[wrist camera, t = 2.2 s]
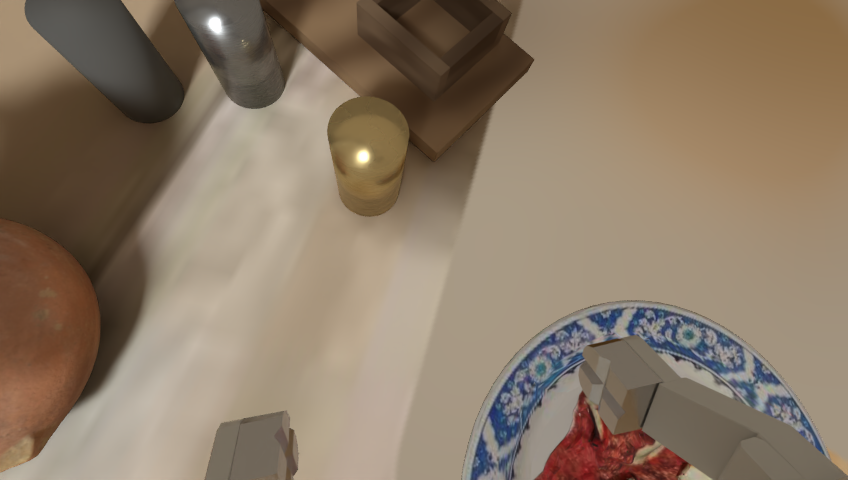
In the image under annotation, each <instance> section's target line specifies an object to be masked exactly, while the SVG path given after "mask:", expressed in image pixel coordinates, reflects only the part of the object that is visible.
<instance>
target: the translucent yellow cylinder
mask: <svg viewBox="0 0 848 480" xmlns="http://www.w3.org/2000/svg"><path fill="white" fill-rule="evenodd" d="M327 133H328V140H329V145H330V150H331V155H332V160H333V165H334V170H335V175H336V180H337V185H338V190H339V195H340V198H341V200H342V202H343V203H344V205H345V206H346V207H347V208H348V209H349V210H351V211H352V212H354V213H356V214H358V215H361V216H369V217H370V216H377V215H381V214H383V213H385V212H386V211H388V210H389V209H390V208H391V207H392V206H393V205H394V204H395V202H396V200H397V198H398V194H399V189H400V184H401V178H402V173H403V168H404V163H405V157H406V152H407V147H408V142H409V127H408V124H407V121H406V119H405V117H404V116H403V114H402V113H401V112H400V110H399V109H398V108H396V107H395V106H394V105H393V104H391V103H389V102H388V101H385V100H383V99H380V98H376V97H357V98H354V99H351V100H348V101H346V102H345V103H343V104H342V105H340V106H339V107H338V108H337V109H336V110H335V111H334V113H333V114H332V116H331V118H330V120H329V124H328V130H327Z"/></svg>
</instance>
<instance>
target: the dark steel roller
mask: <svg viewBox="0 0 848 480" xmlns="http://www.w3.org/2000/svg"><path fill="white" fill-rule="evenodd" d="M174 1H175V4H176V6H177V8H178V10H179V12H180V13H181V15H182V17H183V19H184V20H185V22H186V24H187V26H188V27H189V29H190V31H191V33H192V34H193V36H194V38H195V40H196V41H197V43H198V45H199V47H200V48H201V50H202V52H203V54H204V55H205V57H206V59H207V61H208V62H209V64H210V66H211V68H212V69H213V71H214V73H215V75H216V76H217V78H218V80H219V82H220V83H221V85H222V87H223V89H224V90H225V92H226V94H227V95H228V97H229V98H230V99H231V100H232V101H233V102H234V103H236V104H237V105H239V106H242V107H245V108H251V109H257V108H263V107H266V106H269V105H271V104H273V103H274V102H275V101H277V100H278V99H279V97H280V96H281V95H282V93H283V91H284V87H285V80H284V76H283V73H282V70H281V67H280V63H279V60H278V57H277V54H276V51H275V48H274V45H273V42H272V38H271V35H270V32H269V29H268V26H267V23H266V20H265V17H264V13H263V10H262V7H261V4H260V1H259V0H174Z"/></svg>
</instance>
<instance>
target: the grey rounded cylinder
mask: <svg viewBox="0 0 848 480" xmlns="http://www.w3.org/2000/svg"><path fill="white" fill-rule="evenodd" d="M25 15H26V18H27V21H28V22H29V24H30V25H31V26H32V27H33V29H35V30H36V31H37V32H38V33H39V34H40V35H41V36H42V37H43V38H44V39H45V40H46V41H47V42H48V43H49V44H51V45H52V46H53V47H54V48H55V49H56V50H57V51H58V52H59V53H60V54H61V55H62V56H63V57H64V58H65V59H66V60H68V61H69V62H70V63H71V64H72V65H73V66H74V67H75V68H76V69H77V70H78V71H79V72H80V73H81V74H82V75H83V76H85V77H86V78H87V79H88V80H89V81H90V82H91V83H92V84H93V85H94V86H95V87H96V88H97V89H98V90H99V91H100V92H102V93H103V94H104V95H105V96H106V97H107V98H108V99H109V100H110V101H111V102H112V103H113V104H114V105H115V106H116V107H118V108H119V109H120V110H121V111H122V112H123V113H124V114H125V115H126V116H127V117H129V118H130V119H132V120H135V121H138V122H142V123H155V122H160V121H163V120H165V119H167V118H169V117H171V116H172V115H173V114H175V113H176V112H177V111H178V109H179V108H180V106H181V105H182V102H183V99H184V90H183V87H182V85H181V83H180V82H179V80H178V79H177V77H176V76H175V75H174V73H173V72H172V70H171V69H170V68H169V66H168V65H167V64H166V62H165V61H164V59H163V58H162V57H161V55H160V54H159V52H158V51H157V50H156V48H155V47H154V46H153V44H152V43H151V41H150V40H149V39H148V37H147V36H146V34H145V33H144V32H143V30H142V29H141V28H140V26H139V25H138V23H137V22H136V21H135V19H134V18H133V16H132V15H131V14H130V12H129V11H128V10H127V8H126V7H125V5H124V4H123V3H122V1H121V0H26V3H25Z"/></svg>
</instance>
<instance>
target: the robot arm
mask: <svg viewBox="0 0 848 480" xmlns="http://www.w3.org/2000/svg"><path fill="white" fill-rule="evenodd" d="M582 356H583V357H584V358H585V361H584V362H583V363H582V364H581V366H580V368H579V374H578V376H579V381H580V385H581V387H582V390H583V392H584V393H585V395H586V396H587V398H588V399H589V400H590V401H592V402H593V403H595V404H597V405H598V406H599V407H598V414H599V416H600V417H601V418H602V420H603V421H604V423H605V424H606V426H607V427H608V429H609V430H610V431H611V433H612V434H613V435H616V434H620V433H625V432H629V431H634V430H638V429H642V431H643V432H645V433H646V434H648V435H649V436H650V437H652V438H653V439H655V440H656V441H658V442H659V443H661V444H662V445H663V446H665V447H666V448H668V449H669V450H671V451H672V452H674V453H675V454H676V455H678V456H679V457H681V458H682V459H684V460H685V461H687V462H688V463H689V464H691V465H692V466H694V467H695V468H697V469H698V470H700V471H701V472H702V473H704V474H705V475H707V476H708V477H710V478H711V479H713V480H848V476H847V475H846V474H845V473H844V472H843V471H841V470H840V469H839V468H838V467H837V466H836V465H835V464H834V463H832V462H831V461H830V460H829V459H828V458H827V457H826V456H825V455H823V454H822V453H821V452H820V451H819V450H818V449H817V448H816V447H814V446H813V445H812V444H811V443H810V442H809V441H808V440H806V439H805V438H804V437H803V436H802V435H801V434H800V433H799V432H797V431H796V430H795V429H794V428H793V427H792V426H790V425H788V424H786V423H784V422H782V421H780V420H777V419H775V418H773V417H771V416H769V415H767V414H765V413H762V412H760V411H758V410H756V409H754V408H752V407H749V406H747V405H745V404H743V403H741V402H739V401H736V400H734V399H732V398H730V397H728V396H726V395H723V394H721V393H719V392H717V391H715V390H713V389H710V388H708V387H706V386H704V385H702V384H700V383H697V382H695V381H693V380H691V379H689V378H687V377H685V378H681V377H680V376H679V375H678V374H677V373H676V372H675V371H674V370H673V369H672V368H671V367H670V366H669V365H668V364H667V363H666V362H665V361H664V360H663V359H662V358H661V357H660V356H659V355H658V354H657V353H656V352H655V351H654V350H653V349H652V348H651V347H650V346H649V345H648V344H647V343H646V342H645V341H644V340H643V339H642V338H641V337H639V336H637V335H633V336H628V337H623V338H619V339H612V340H608V341H604V342H599V343H595V344H591V345H587V346H586V347H585V348H584V349H583V354H582ZM289 427H290V417H289V415H288V412H287V411H281V412H276V413H270V414H265V415H260V416H254V417H249V418H244V419H239V420H234V421H229V422H224V423H221V424H220V426H219V428H218V430H217V433H216V437H215V441H214V444H213V448H212V452H211V456H210V460H209V464H208V468H207V472H206V476H205V480H294V478H293V476H294V475H295V473H296V472H297V470H298V444H297V439H296V435H295V432H294V430H293V429H291V428H289Z"/></svg>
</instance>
